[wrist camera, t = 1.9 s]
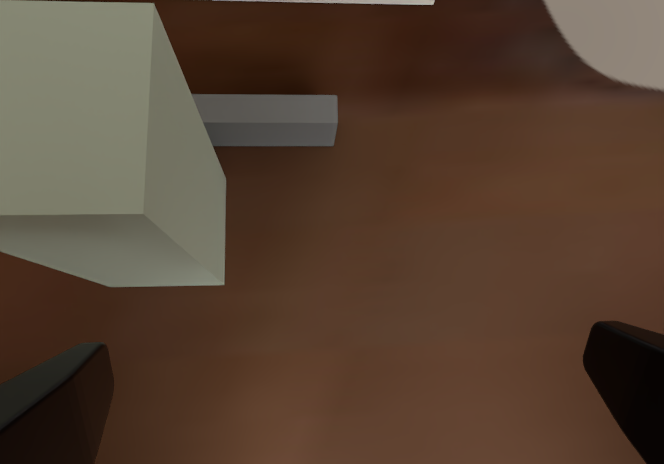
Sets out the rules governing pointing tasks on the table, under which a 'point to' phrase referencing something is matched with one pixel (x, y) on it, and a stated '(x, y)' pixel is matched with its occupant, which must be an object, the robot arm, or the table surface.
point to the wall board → (275, 110)
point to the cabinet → (105, 148)
